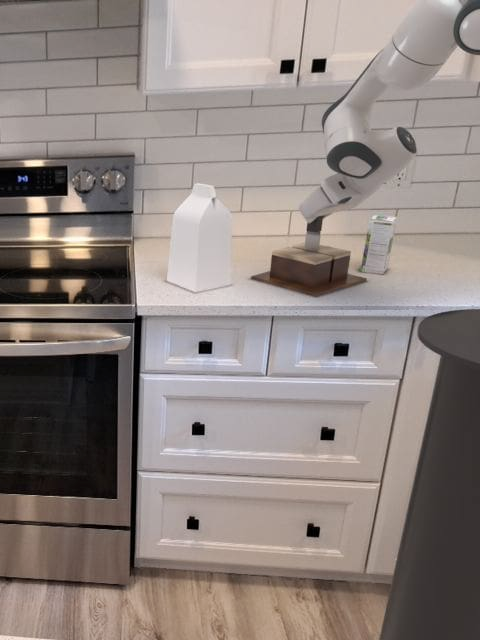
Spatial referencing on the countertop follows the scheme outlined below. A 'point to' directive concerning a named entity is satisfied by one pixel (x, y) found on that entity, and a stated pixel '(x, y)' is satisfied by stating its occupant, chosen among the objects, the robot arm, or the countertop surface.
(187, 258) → the milk
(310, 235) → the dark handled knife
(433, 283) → the countertop surface
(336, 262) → the brown square slotted block
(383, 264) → the syrup box
